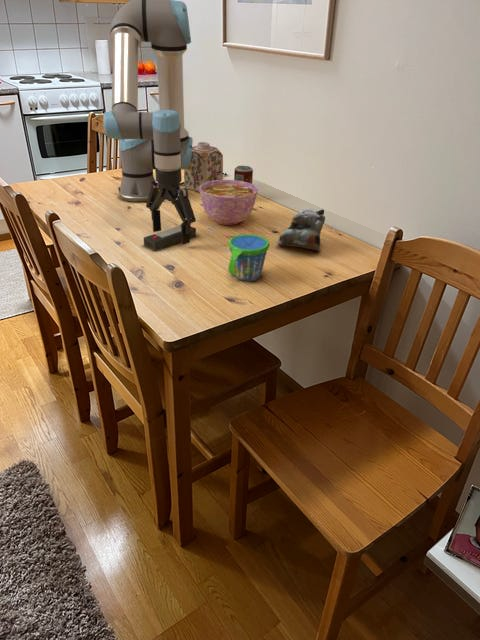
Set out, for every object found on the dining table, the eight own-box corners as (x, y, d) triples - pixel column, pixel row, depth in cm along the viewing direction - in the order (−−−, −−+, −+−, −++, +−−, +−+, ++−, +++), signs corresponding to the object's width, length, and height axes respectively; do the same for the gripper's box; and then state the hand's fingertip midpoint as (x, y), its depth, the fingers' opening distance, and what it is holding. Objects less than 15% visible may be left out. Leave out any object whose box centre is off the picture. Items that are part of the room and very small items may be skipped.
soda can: (248, 202, 187) (250, 170, 181) (231, 200, 189) (232, 168, 182) (253, 197, 193) (255, 165, 187) (236, 195, 195) (237, 164, 188)
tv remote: (185, 231, 160) (185, 222, 158) (196, 236, 157) (196, 227, 155) (144, 246, 149) (143, 236, 147) (154, 251, 146) (154, 241, 144)
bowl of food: (187, 220, 169) (186, 187, 163) (227, 207, 182) (228, 176, 175) (228, 236, 158) (229, 201, 151) (268, 221, 170) (270, 189, 164)
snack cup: (244, 292, 126) (245, 256, 121) (214, 279, 132) (214, 244, 126) (279, 272, 136) (282, 239, 131) (250, 261, 142) (252, 228, 136)
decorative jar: (201, 182, 208) (201, 138, 198) (223, 187, 202) (224, 143, 193) (183, 188, 199) (182, 143, 190) (205, 194, 194) (205, 147, 184)
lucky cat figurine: (269, 243, 154) (281, 200, 152) (298, 252, 160) (310, 211, 158) (296, 247, 141) (309, 200, 139) (327, 257, 147) (340, 212, 146)
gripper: (207, 175, 136) (207, 245, 148) (151, 158, 150) (155, 223, 162) (187, 179, 132) (189, 252, 143) (131, 161, 146) (136, 228, 157)
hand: (171, 236), depth 152 cm, fingers open, 13 cm apart
